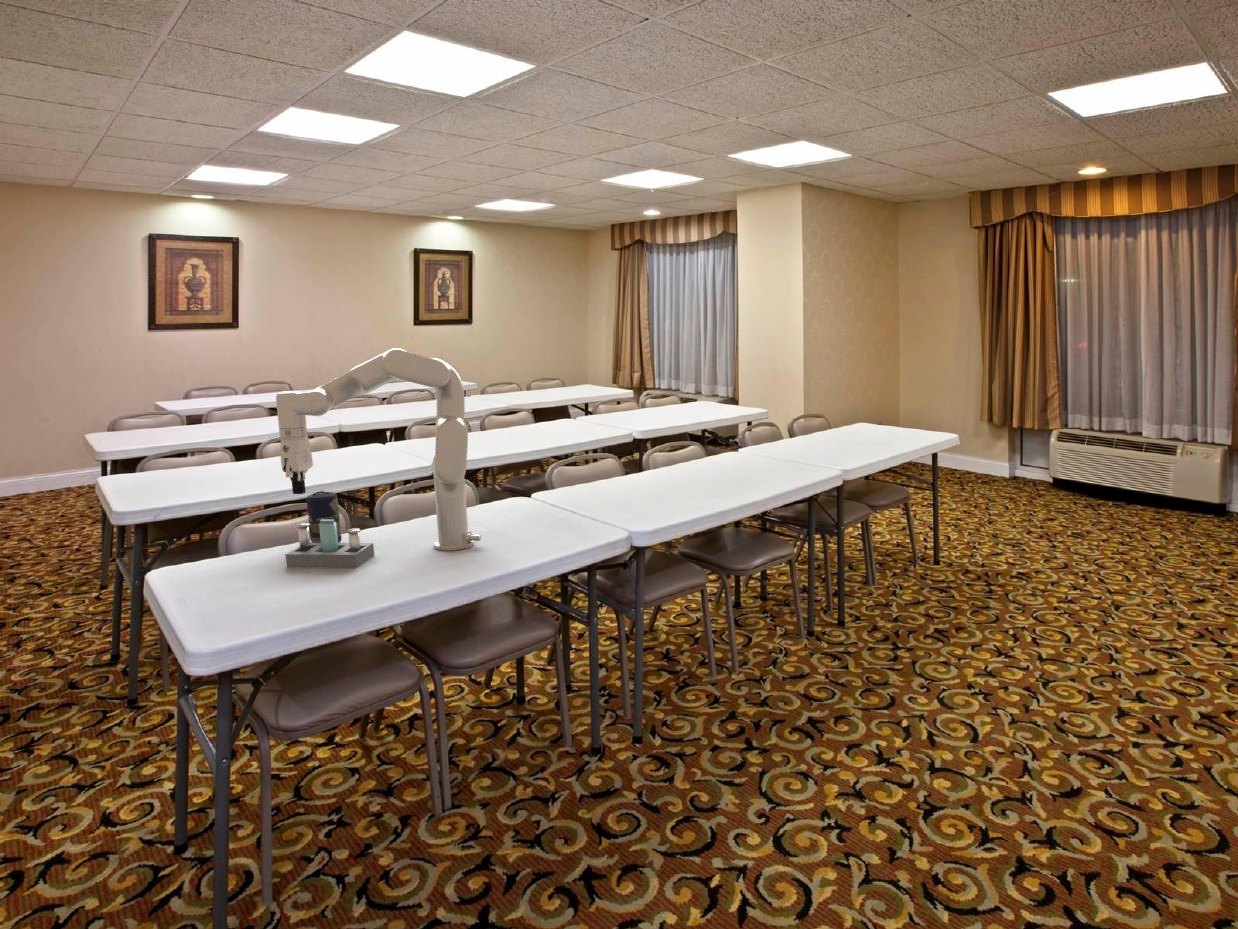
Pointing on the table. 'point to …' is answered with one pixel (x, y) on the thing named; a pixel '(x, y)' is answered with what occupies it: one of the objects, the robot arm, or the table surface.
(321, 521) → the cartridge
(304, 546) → the plunger
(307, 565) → the housing
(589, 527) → the table surface
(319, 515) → the canister
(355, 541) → the plunger
